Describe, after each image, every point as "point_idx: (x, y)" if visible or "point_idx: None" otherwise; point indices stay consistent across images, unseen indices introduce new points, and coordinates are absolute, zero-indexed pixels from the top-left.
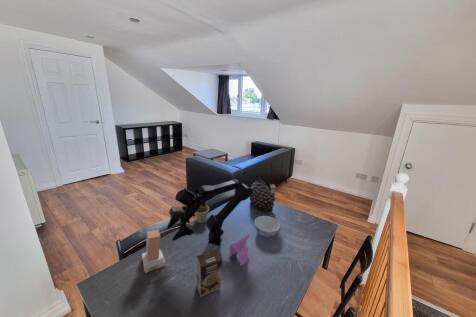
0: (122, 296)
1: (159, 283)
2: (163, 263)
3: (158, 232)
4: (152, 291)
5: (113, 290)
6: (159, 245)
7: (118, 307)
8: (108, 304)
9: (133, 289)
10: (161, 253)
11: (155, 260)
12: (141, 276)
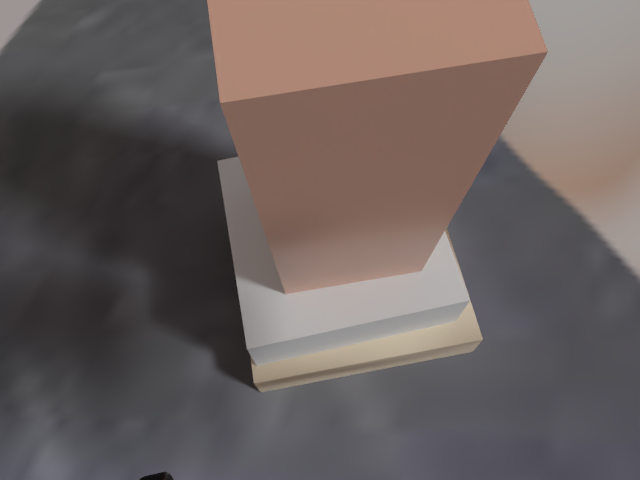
0: (84, 86)
1: (57, 330)
2: (251, 364)
3: (404, 55)
4: (7, 273)
5: (163, 34)
6: (263, 222)
7: (12, 77)
8: (68, 28)
9: (107, 141)
10: (348, 326)
11: (250, 258)
12: (209, 183)
